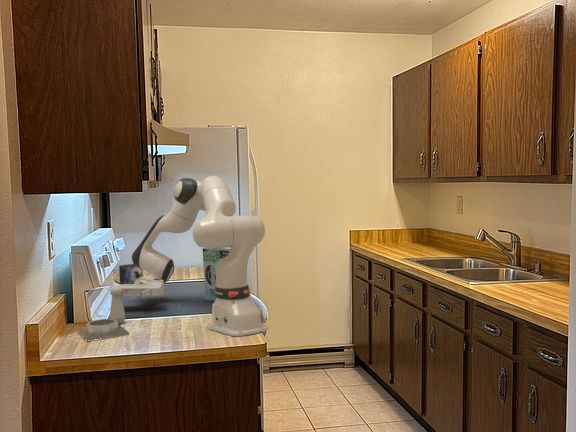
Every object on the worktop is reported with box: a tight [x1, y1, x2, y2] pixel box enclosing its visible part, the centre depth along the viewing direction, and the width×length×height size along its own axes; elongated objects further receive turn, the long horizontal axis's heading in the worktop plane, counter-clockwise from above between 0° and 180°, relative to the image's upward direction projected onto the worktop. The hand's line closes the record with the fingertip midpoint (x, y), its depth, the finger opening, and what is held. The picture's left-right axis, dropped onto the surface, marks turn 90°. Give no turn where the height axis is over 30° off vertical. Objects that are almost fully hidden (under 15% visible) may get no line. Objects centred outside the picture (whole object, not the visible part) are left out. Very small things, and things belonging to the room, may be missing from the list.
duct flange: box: [76, 318, 130, 341], centre depth 194 cm, size 16×14×4 cm
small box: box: [118, 263, 144, 285], centre depth 285 cm, size 11×6×10 cm, turn 123°
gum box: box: [201, 247, 231, 302], centre depth 237 cm, size 20×5×23 cm, turn 43°
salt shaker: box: [108, 287, 126, 325], centre depth 207 cm, size 6×6×13 cm
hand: (130, 294), depth 219 cm, fingers open, 8 cm apart
